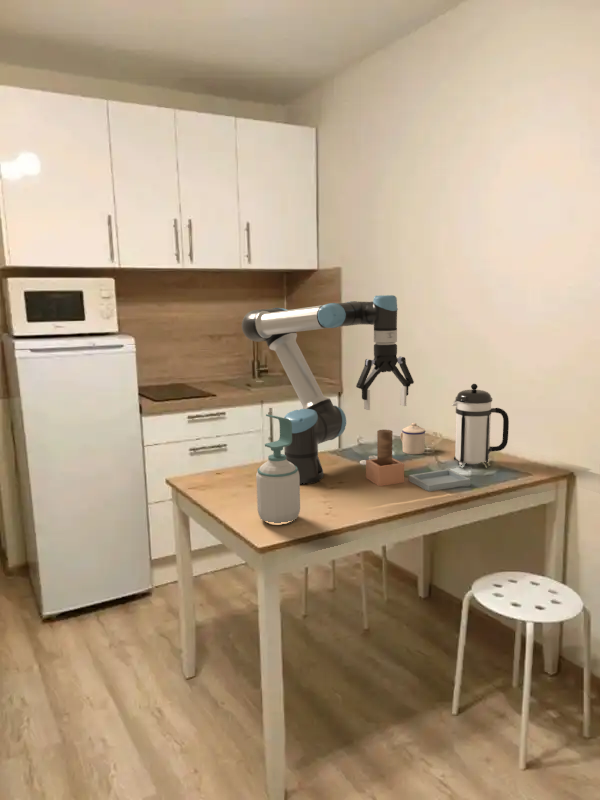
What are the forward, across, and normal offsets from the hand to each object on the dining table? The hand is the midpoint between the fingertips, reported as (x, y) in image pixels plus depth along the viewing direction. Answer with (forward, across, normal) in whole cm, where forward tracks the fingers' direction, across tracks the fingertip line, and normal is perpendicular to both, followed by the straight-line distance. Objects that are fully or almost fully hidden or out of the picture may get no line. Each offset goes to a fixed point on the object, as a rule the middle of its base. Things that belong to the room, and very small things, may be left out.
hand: (385, 407), depth 202 cm
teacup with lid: (+26, +28, +29) cm, 48 cm away
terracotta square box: (+26, 0, 0) cm, 26 cm away
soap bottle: (+26, -44, -17) cm, 54 cm away
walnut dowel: (+25, 0, 0) cm, 25 cm away
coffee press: (+26, +40, +4) cm, 48 cm away
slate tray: (+26, +15, -10) cm, 31 cm away
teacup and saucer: (+26, +6, +20) cm, 34 cm away
